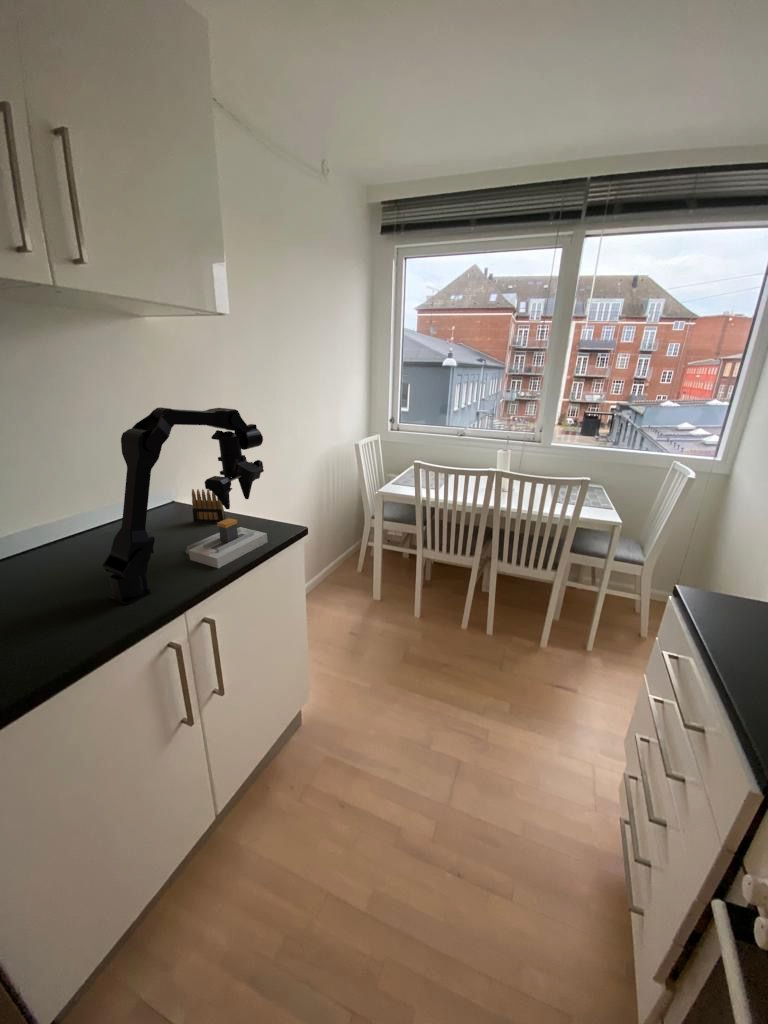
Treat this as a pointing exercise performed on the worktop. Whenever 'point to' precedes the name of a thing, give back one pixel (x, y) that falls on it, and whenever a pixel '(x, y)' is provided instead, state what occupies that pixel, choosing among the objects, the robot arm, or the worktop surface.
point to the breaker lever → (228, 530)
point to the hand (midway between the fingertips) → (237, 503)
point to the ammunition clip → (207, 508)
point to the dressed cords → (201, 542)
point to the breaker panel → (227, 548)
